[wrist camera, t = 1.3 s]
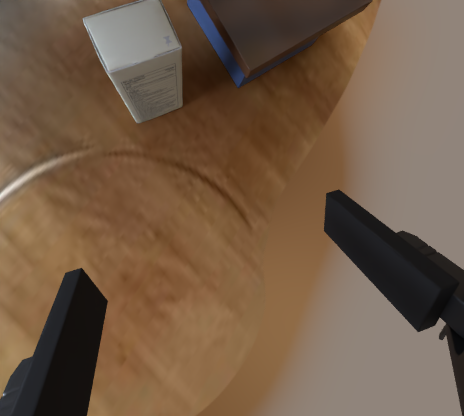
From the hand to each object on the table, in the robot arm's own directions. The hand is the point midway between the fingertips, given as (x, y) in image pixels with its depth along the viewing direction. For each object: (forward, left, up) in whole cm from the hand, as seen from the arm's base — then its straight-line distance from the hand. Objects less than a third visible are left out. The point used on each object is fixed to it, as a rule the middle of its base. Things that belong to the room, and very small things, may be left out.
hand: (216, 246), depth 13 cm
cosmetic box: (-16, +4, -19) cm, 25 cm away
